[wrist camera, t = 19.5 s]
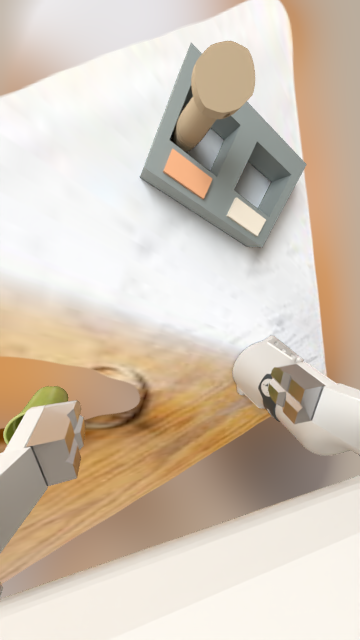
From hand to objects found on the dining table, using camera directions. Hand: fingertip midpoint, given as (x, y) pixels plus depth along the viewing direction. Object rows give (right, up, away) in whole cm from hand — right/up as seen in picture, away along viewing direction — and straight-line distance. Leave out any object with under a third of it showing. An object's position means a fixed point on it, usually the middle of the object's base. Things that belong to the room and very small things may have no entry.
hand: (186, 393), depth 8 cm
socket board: (+7, +29, +28) cm, 41 cm away
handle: (0, +32, +24) cm, 40 cm away
